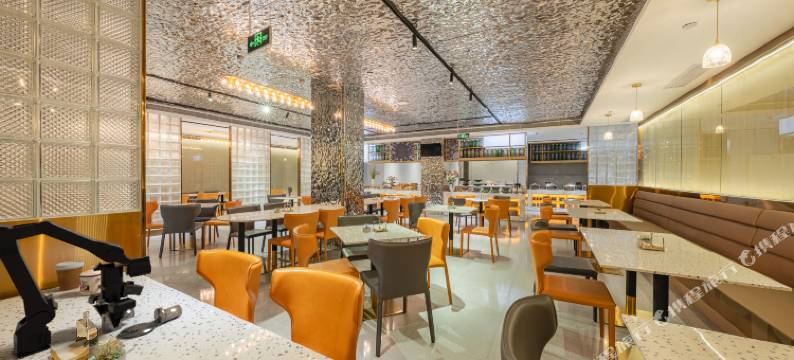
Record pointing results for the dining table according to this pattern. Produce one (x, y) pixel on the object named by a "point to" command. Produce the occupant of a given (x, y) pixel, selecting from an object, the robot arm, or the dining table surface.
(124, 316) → the elbow
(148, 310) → the dining table surface
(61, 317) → the dining table surface
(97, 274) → the teacup with lid
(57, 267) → the disposable coffee cup
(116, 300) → the robot arm
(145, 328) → the silver metal long piece
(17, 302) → the dining table surface
